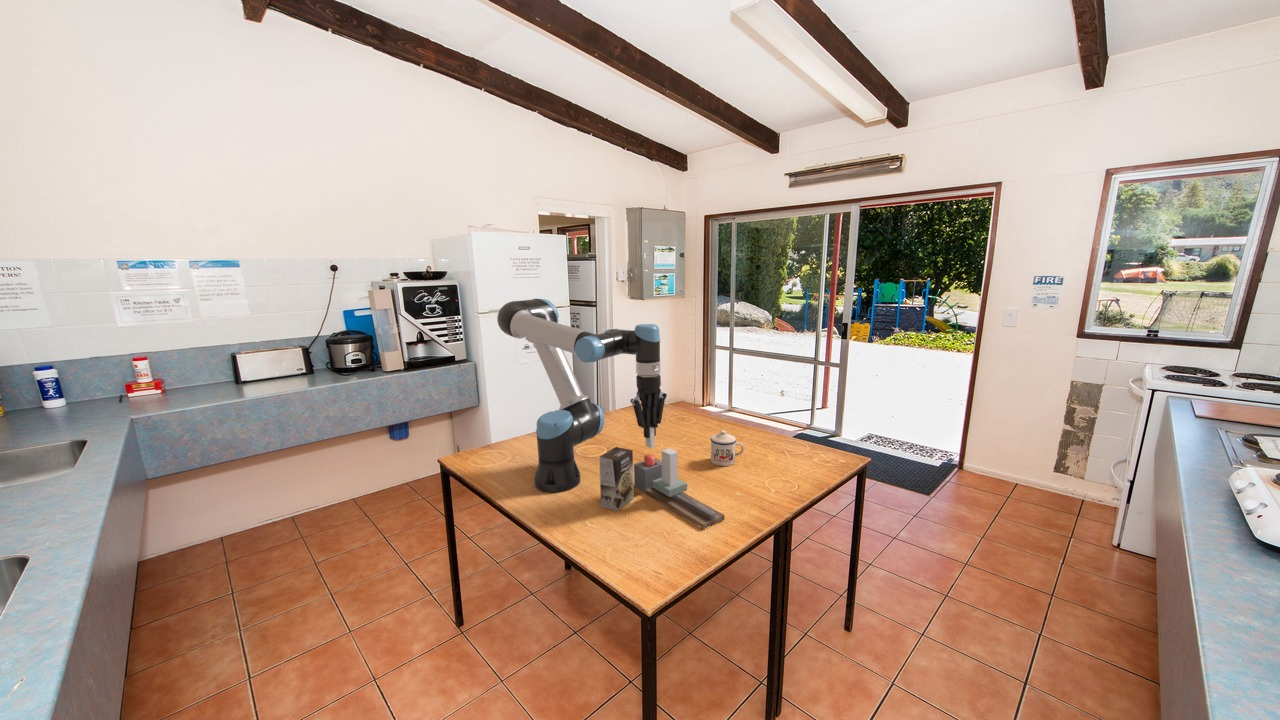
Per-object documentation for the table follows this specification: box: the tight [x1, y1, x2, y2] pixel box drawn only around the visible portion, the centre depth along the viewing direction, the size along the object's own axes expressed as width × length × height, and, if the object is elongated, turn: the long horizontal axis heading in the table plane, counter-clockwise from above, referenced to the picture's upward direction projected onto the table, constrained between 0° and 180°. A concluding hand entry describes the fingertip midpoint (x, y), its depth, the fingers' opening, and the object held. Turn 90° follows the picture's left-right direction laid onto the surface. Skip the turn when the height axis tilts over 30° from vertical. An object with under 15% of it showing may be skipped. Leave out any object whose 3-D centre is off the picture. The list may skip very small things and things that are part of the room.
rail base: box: [645, 487, 725, 530], centre depth 139 cm, size 8×26×3 cm, turn 37°
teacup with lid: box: [710, 430, 745, 467], centre depth 169 cm, size 12×9×12 cm
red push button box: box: [633, 458, 662, 495], centre depth 151 cm, size 8×6×8 cm
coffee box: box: [599, 446, 634, 512], centre depth 140 cm, size 9×6×16 cm
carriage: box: [653, 447, 688, 497], centre depth 142 cm, size 7×8×12 cm
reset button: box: [643, 453, 656, 468], centre depth 150 cm, size 3×3×5 cm
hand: (650, 446), depth 149 cm, fingers closed
